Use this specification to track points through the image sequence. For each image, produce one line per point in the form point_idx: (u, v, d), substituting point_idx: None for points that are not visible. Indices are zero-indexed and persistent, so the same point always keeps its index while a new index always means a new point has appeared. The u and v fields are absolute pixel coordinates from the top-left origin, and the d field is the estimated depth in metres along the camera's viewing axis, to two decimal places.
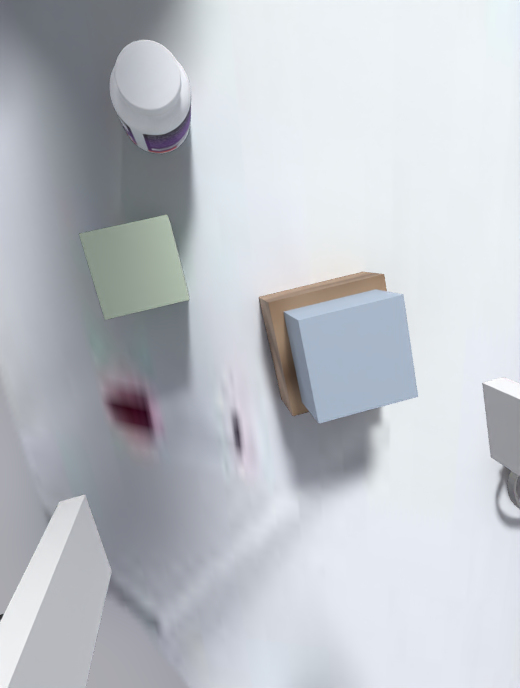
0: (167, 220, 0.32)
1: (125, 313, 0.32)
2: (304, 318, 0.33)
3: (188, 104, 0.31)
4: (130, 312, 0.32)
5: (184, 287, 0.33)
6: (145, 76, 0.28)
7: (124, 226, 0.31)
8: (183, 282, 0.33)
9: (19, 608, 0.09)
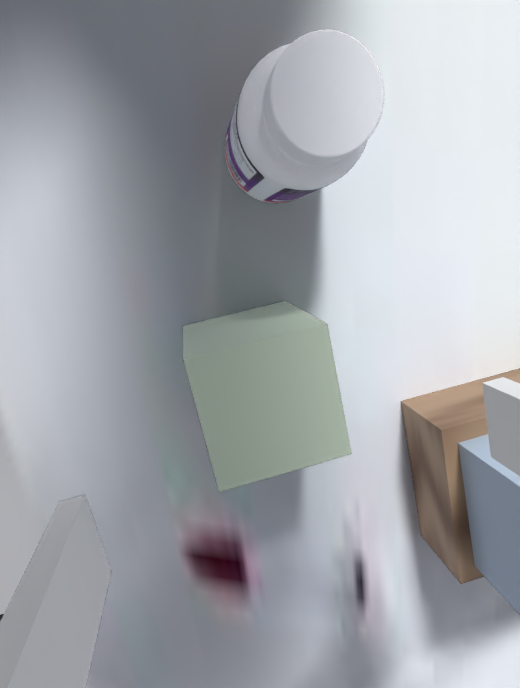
0: (326, 333, 0.19)
1: (251, 480, 0.20)
2: None
3: None
4: (259, 478, 0.20)
5: (345, 435, 0.20)
6: (325, 97, 0.15)
7: (257, 345, 0.19)
8: (344, 428, 0.20)
9: (19, 608, 0.09)
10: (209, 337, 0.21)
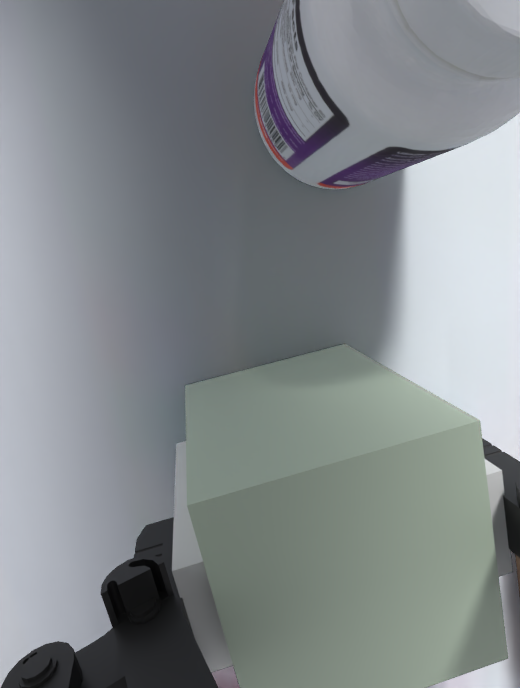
0: (478, 439, 0.09)
1: None
2: None
3: None
4: None
5: (499, 626, 0.10)
6: None
7: (341, 469, 0.09)
8: (498, 613, 0.10)
9: (185, 509, 0.12)
10: (234, 427, 0.12)
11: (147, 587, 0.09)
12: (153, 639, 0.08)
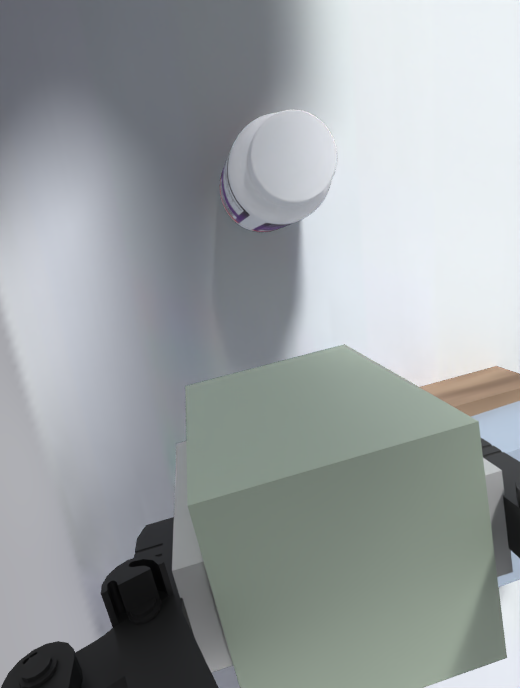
0: (477, 440, 0.09)
1: None
2: None
3: (329, 185, 0.24)
4: None
5: (498, 626, 0.10)
6: (292, 158, 0.21)
7: (341, 469, 0.09)
8: (497, 613, 0.10)
9: (185, 509, 0.12)
10: (234, 428, 0.12)
11: (147, 587, 0.09)
12: (153, 639, 0.08)
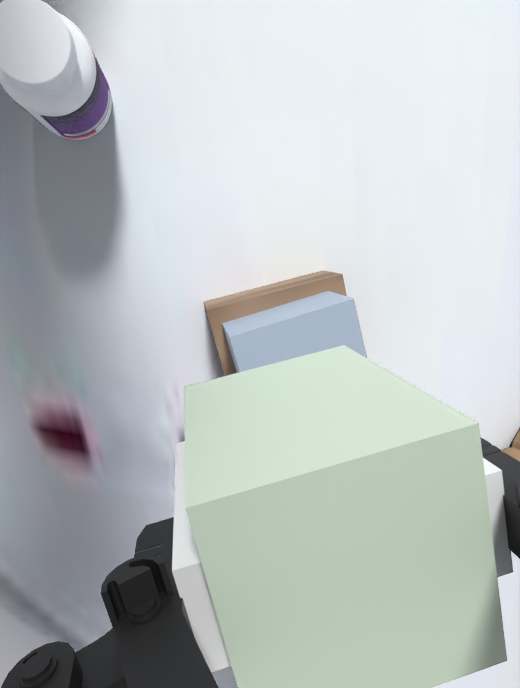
0: (477, 442, 0.09)
1: None
2: (237, 334, 0.28)
3: (91, 78, 0.26)
4: None
5: (498, 628, 0.10)
6: (26, 42, 0.23)
7: (340, 471, 0.09)
8: (497, 616, 0.10)
9: (185, 509, 0.12)
10: (233, 429, 0.12)
11: (147, 587, 0.09)
12: (153, 639, 0.08)
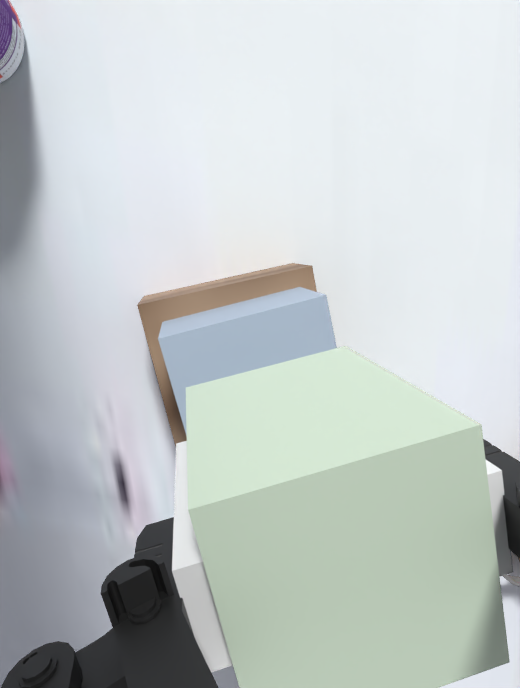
0: (479, 443, 0.09)
1: None
2: (169, 335, 0.21)
3: None
4: None
5: (500, 630, 0.10)
6: None
7: (342, 473, 0.09)
8: (500, 617, 0.10)
9: (185, 509, 0.12)
10: (234, 431, 0.12)
11: (147, 587, 0.09)
12: (153, 639, 0.08)
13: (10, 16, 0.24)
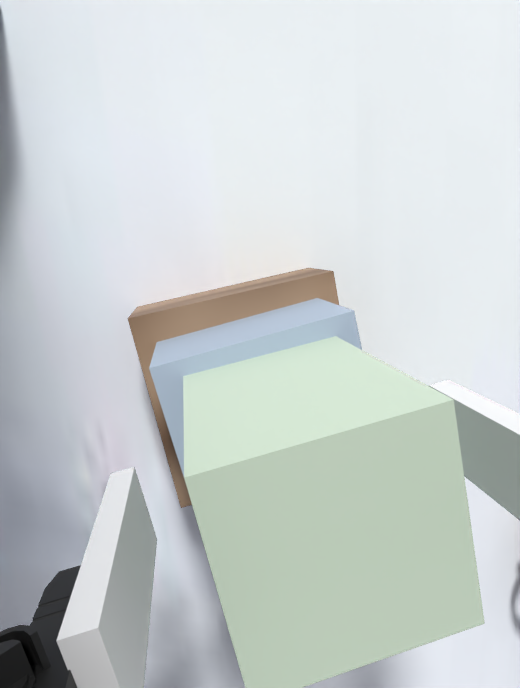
0: (452, 417, 0.10)
1: (309, 680, 0.11)
2: (163, 363, 0.17)
3: None
4: (323, 676, 0.11)
5: (475, 593, 0.11)
6: None
7: (326, 444, 0.10)
8: (474, 581, 0.11)
9: (95, 558, 0.10)
10: (228, 411, 0.12)
11: (17, 664, 0.08)
12: None
13: None
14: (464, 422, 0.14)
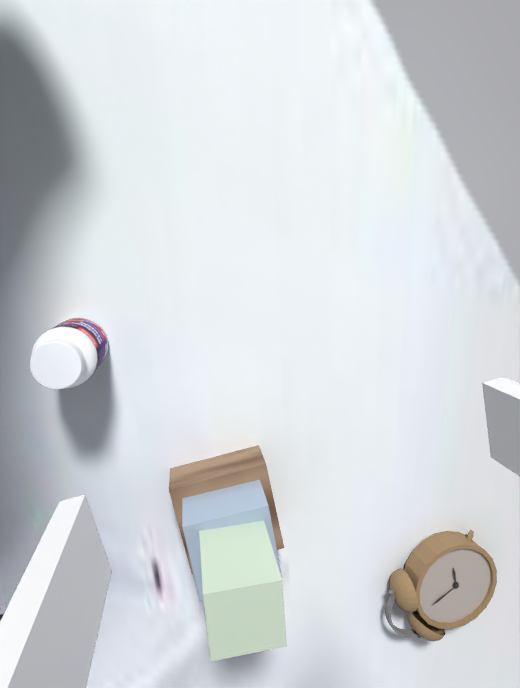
0: (281, 584, 0.35)
1: (229, 656, 0.36)
2: (188, 524, 0.42)
3: (94, 366, 0.40)
4: (233, 655, 0.36)
5: (284, 636, 0.36)
6: (54, 367, 0.37)
7: (243, 589, 0.35)
8: (284, 632, 0.36)
9: (19, 608, 0.09)
10: (216, 564, 0.37)
11: None
12: None
13: (104, 345, 0.45)
14: None
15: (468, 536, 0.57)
